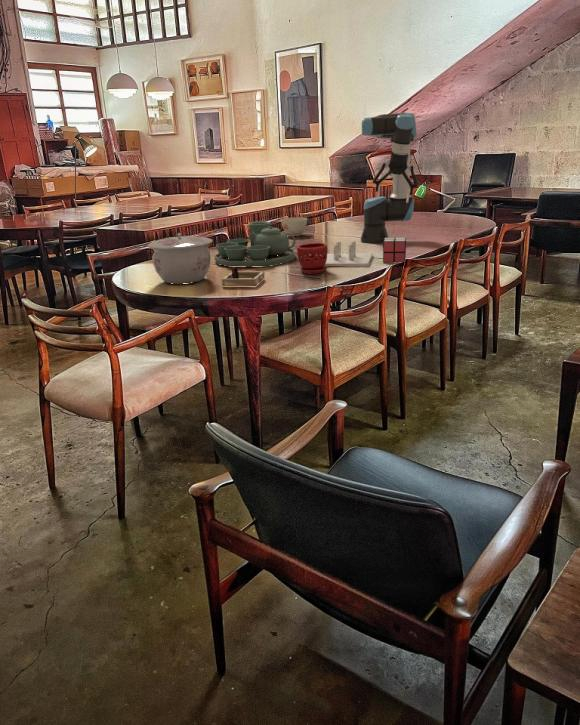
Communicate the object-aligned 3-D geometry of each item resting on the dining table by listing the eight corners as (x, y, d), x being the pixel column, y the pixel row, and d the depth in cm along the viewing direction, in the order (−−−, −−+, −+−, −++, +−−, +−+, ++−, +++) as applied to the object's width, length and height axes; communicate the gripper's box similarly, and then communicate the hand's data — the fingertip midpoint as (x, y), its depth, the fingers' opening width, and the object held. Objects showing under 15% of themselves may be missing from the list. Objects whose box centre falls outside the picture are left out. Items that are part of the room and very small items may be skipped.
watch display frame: (233, 279, 249) (232, 271, 248) (264, 279, 246) (264, 271, 245) (222, 287, 237) (221, 279, 235) (255, 287, 234) (254, 279, 232)
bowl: (278, 235, 357) (277, 218, 354) (303, 233, 361) (302, 216, 358) (286, 239, 343) (285, 221, 339) (311, 236, 347) (311, 219, 343)
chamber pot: (180, 292, 233) (173, 240, 226) (139, 284, 250) (132, 235, 243) (230, 278, 253) (226, 229, 245) (189, 271, 270) (184, 226, 262)
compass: (250, 286, 237) (249, 268, 235) (232, 286, 239) (230, 268, 236) (255, 281, 245) (254, 264, 242) (237, 281, 246) (236, 264, 244)
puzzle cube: (405, 263, 264) (405, 241, 261) (382, 263, 266) (383, 241, 263) (405, 258, 273) (406, 237, 270) (384, 259, 275) (384, 237, 272)
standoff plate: (324, 256, 288) (323, 239, 285) (372, 256, 282) (372, 238, 279) (315, 266, 266) (314, 248, 263) (367, 266, 261) (367, 247, 258)
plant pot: (322, 267, 263) (322, 241, 259) (331, 273, 251) (330, 245, 247) (294, 270, 260) (293, 243, 256) (302, 276, 248) (301, 248, 244)
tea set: (206, 258, 299) (203, 226, 293) (279, 250, 312) (277, 218, 306) (228, 273, 264) (225, 236, 258) (308, 262, 277) (307, 227, 271)
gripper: (371, 152, 253) (364, 199, 265) (429, 157, 251) (420, 205, 263) (371, 147, 259) (365, 194, 271) (428, 153, 257) (419, 200, 269)
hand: (392, 200), depth 267 cm, fingers open, 13 cm apart
